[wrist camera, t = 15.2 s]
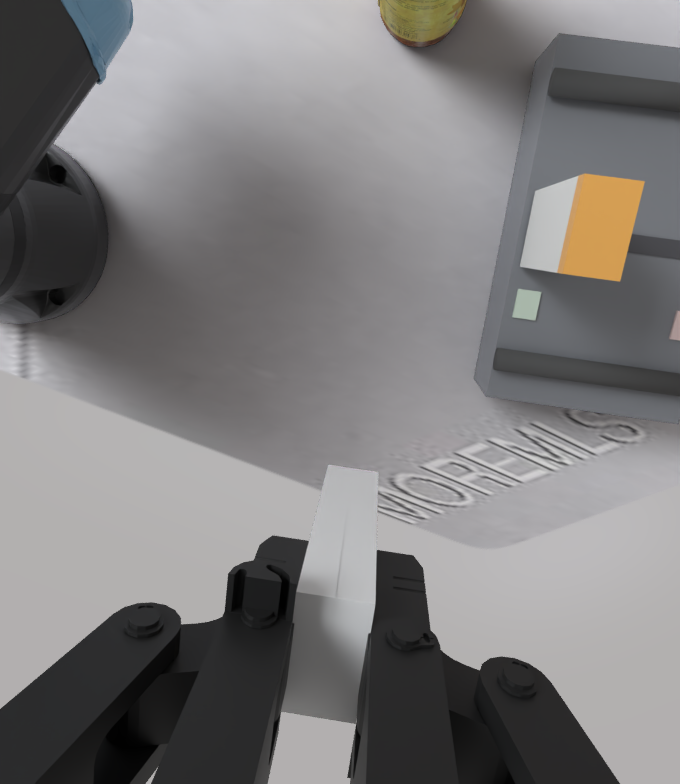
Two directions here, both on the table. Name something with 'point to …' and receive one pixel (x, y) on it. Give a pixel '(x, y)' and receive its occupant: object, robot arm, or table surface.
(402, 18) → the sauce bottle
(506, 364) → the pair of dark rails
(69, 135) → the table surface
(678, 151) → the switch panel
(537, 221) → the lever
